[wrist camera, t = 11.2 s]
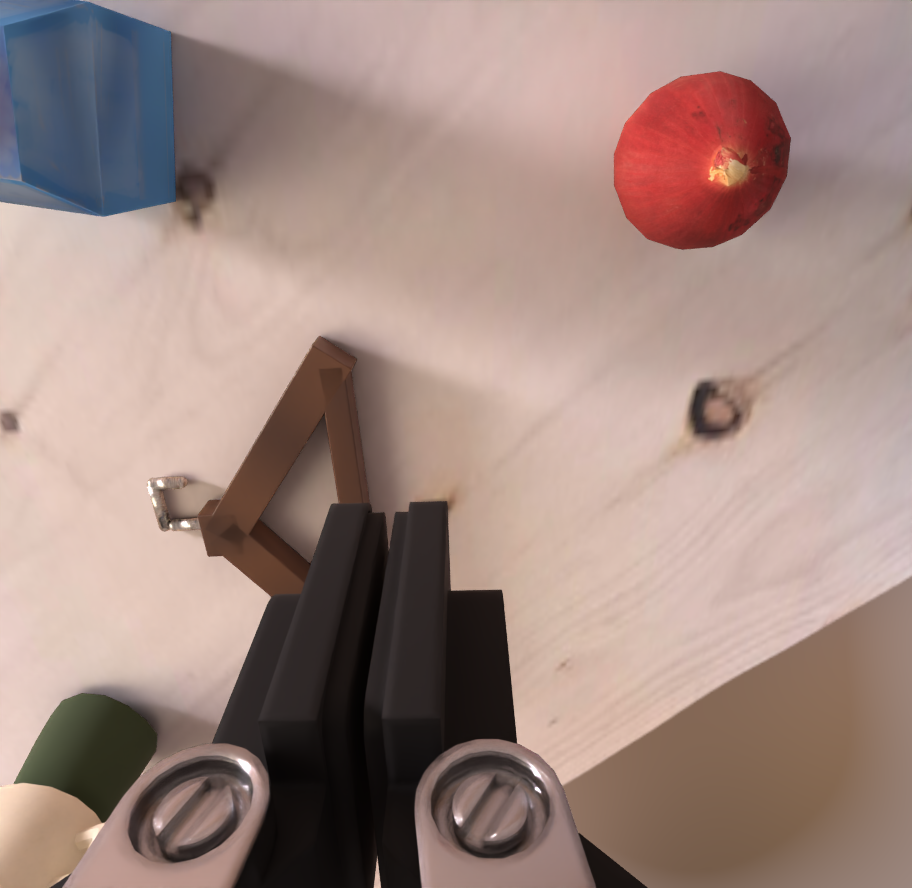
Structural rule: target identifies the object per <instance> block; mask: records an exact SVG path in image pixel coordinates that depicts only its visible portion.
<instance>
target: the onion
mask: <svg viewBox="0 0 912 888" xmlns="http://www.w3.org/2000/svg"><path fill="white" fill-rule="evenodd" d="M790 142H791V137H790V135H789V133H788V130H787V128H786V125H785V123H784V121H783V118H782V116H781V114H780V111H779V109H778V106H777V104H776V102H775V101H773V100H772V99H771V98H770V97H769V96H768V95H767V94H766V93H764V92H763V91H762V90H761V89H760V88H759V87H758V86H756V85H755V84H754V83H753V82H752V81H751V80H748V79H744V78H741V77H738V76H734V75H731V74H728V73H724V72H721V71H719V72H712V73H704V74H697V75H690V76H683V77H680V78H678V79H676V80H674V81H672V82H670V83H669V84H667V85H665V86H663V87H661V88H660V89H658V90H656V91H654V92H652V93H651V94H650V95H649V96H648V97H647V99H646V100H645V101H644V102H643V103H642V104H641V105H640V107H639V108H638V109H637V110H636V111H635V112H634V114H633V115H632V116H631V117H630V118H629V119H628V120H627V122H626V123H625V125H624V128H623V131H622V133H621V136H620V139H619V142H618V145H617V147H616V150H615V153H614V186H615V189H616V191H617V194H618V197H619V199H620V202H621V205H622V207H623V210H624V213H625V215H626V218H627V219H628V220H629V221H630V222H631V223H632V224H633V225H634V226H635V227H636V228H637V229H638V230H639V231H640V232H641V233H642V234H643V235H644V236H645V237H646V238H647V239H649V240H652V241H655V242H658V243H661V244H664V245H667V246H670V247H673V248H676V249H682V250H683V249H695V248H707V247H714V246H716V245H719V244H721V243H724V242H726V241H728V240H731V239H733V238H736V237H738V236H740V235H742V234H743V233H745V232H746V231H747V230H748V229H749V228H750V227H751V226H752V225H753V224H754V223H756V222H757V221H758V220H759V219H760V218H761V217H762V216H763V215H764V214H766V213H767V212H768V211H769V210H770V209H771V207H772V205H773V203H774V201H775V199H776V197H777V195H778V193H779V191H780V189H781V187H782V185H783V183H784V181H785V179H786V177H787V169H788V160H789V151H790Z"/></svg>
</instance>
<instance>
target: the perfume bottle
mask: <svg viewBox="0 0 912 888" xmlns="http://www.w3.org/2000/svg"><path fill="white" fill-rule="evenodd" d="M175 201H176V186H175V153H174V120H173V87H172V54H171V32H170V31H167V30H164V29H162V28H159V27H156V26H153V25H151V24H148V23H145V22H142V21H140V20H137V19H134V18H131V17H128V16H126V15H123V14H120V13H117V12H115V11H112V10H109V9H106V8H104V7H101V6H98V5H95V4H92V3H90V2H86V1H79V0H0V202H5V203H12V204H19V205H26V206H33V207H40V208H47V209H54V210H61V211H68V212H75V213H82V214H88V215H95V216H102V217H104V216H109V215H114V214H118V213H123V212H128V211H133V210H137V209H142V208H147V207H152V206H156V205H161V204H166V203H171V202H175Z"/></svg>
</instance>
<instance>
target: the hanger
mask: <svg viewBox="0 0 912 888" xmlns="http://www.w3.org/2000/svg"><path fill="white" fill-rule="evenodd" d="M356 361H357V359H356V358H355V357H353V356H351V355H350V354H348V353H347V352H345V351H343V350H342V349H340V348H339V347H337V346H335V345H334V344H332V343H330V342H329V341H327V340H326V339H324V338H322V337H321V336H319V337H318V338H317V339H316V341H315V342H314V343H313V344H312V346H311V348H310V349H309V351H308V353H307V354H306V356H305V358H304V359H303V361H302V363H301V365H300V366H299V368H298V370H297V371H296V373H295V375H294V376H293V378H292V380H291V382H290V383H289V385H288V387H287V388H286V390H285V392H284V393H283V395H282V397H281V398H280V400H279V402H278V404H277V405H276V407H275V409H274V410H273V412H272V414H271V415H270V417H269V419H268V421H267V422H266V424H265V426H264V427H263V429H262V431H261V432H260V434H259V436H258V438H257V439H256V441H255V443H254V444H253V446H252V448H251V449H250V451H249V453H248V455H247V456H246V458H245V460H244V461H243V463H242V465H241V466H240V468H239V470H238V472H237V473H236V475H235V477H234V478H233V480H232V482H231V483H230V485H229V487H228V489H227V490H226V492H225V494H224V495H223V497H222V499H221V500H209V501H208V502H207V503H206V505H205V506H204V507H203V509H202V510H201V512H200V513H199V514H198V518H188V519H173V520H170V517H169V513H168V510H167V506H166V503H165V499H164V495H163V492H162V490H164V489H182V488H185V487H186V486H187V483H188V482H187V479H186V478H185V477H162V478H151V479H149V480H148V482H147V487H148V491H149V494H150V497H151V501H152V504H153V508H154V511H155V515H156V518H157V522H158V525H159V528H160V530H162V531H168V530H172V531H184V530H201V532H202V536H203V539H204V543H205V547H206V551H207V555H208V556H209V557H210V556H224V557H225V558H226V559H227V560H228V561H229V562H231V563H232V564H233V565H234V566H235V567H237V568H238V569H239V570H240V571H241V572H243V573H244V574H245V575H246V576H247V577H249V578H250V579H251V580H252V581H253V582H254V583H256V584H257V585H258V586H259V587H260V588H262V589H263V590H264V591H265V592H266V593H268V594H269V595H270V596H271V597H272V596H274V595H275V594H301V592H302V589H303V586H304V583H305V580H306V577H307V574H308V571H309V568H310V564H309V563H308V562H307V561H306V560H305V559H303V558H302V557H301V556H300V555H299V554H298V553H297V552H295V551H294V550H293V549H292V548H291V547H290V546H289V545H288V544H286V543H285V542H284V541H283V540H282V539H281V538H280V537H278V536H277V535H276V534H275V533H274V532H273V531H272V530H270V529H269V528H268V527H267V526H266V525H265V524H264V523H262V522H261V521H260V520H259V518H260V516H261V515H262V513H263V511H264V510H265V508H266V507H267V505H268V503H269V502H270V500H271V499H272V497H273V495H274V494H275V492H276V491H277V489H278V487H279V486H280V484H281V483H282V481H283V479H284V478H285V476H286V475H287V473H288V471H289V470H290V468H291V467H292V465H293V463H294V462H295V460H296V459H297V457H298V455H299V454H300V452H301V450H302V449H303V447H304V446H305V444H306V442H307V441H308V439H309V438H310V436H311V434H312V433H313V431H314V430H315V428H316V426H317V425H318V423H319V422H320V420H321V418H322V417H323V415H324V414H325V420H326V426H327V433H328V439H329V445H330V451H331V457H332V464H333V470H334V476H335V482H336V489H337V495H338V501H339V504H344V503H370V502H369V495H368V487H367V480H366V473H365V466H364V458H363V451H362V444H361V437H360V430H359V422H358V415H357V408H356V401H355V394H354V386H353V379H352V372H351V370H352V368H353V367H354V365H355V363H356Z"/></svg>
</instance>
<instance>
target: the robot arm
mask: <svg viewBox="0 0 912 888" xmlns="http://www.w3.org/2000/svg"><path fill="white" fill-rule="evenodd" d="M377 856H378V864H379V873H380V882H381V888H647V887H646V886H645V885H643V884H642V883H641V882H640V881H639V880H637V879H636V878H635V877H633V876H632V875H631V874H630V873H629V872H627V871H626V870H624V868H622V867H621V866H620V865H619V864H617V863H616V862H615V861H613V860H612V859H611V858H610V857H609V856H607V855H606V854H605V853H603V852H602V851H601V850H600V849H598V848H597V847H596V846H595V845H593V844H592V843H591V842H590V841H588V840H587V839H586V838H584V837H583V836H582V835H581V834H580V833H578V831H577V828H576V825H575V822H574V819H573V816H572V813H571V810H570V807H569V804H568V801H567V798H566V795H565V792H564V789H563V787H562V785H561V783H560V781H559V779H558V777H557V775H556V773H555V771H554V770H553V769H552V768H551V767H550V766H549V765H548V764H547V763H546V762H545V761H544V760H543V759H542V758H541V757H540V756H539V755H538V754H536V753H534V752H532V751H531V750H529V749H527V748H525V747H524V746H522V745H520V744H517V737H516V727H515V716H514V706H513V695H512V685H511V674H510V664H509V654H508V643H507V633H506V622H505V612H504V601H503V593H502V590H467V591H451V585H450V558H449V530H448V506H447V501H437V502H410V505H409V512H396V513H395V517H394V523H393V529H392V535H391V541H390V547H389V550H388V538H387V526H386V517H385V513H384V512H381V513H372V508H371V504H370V503H344V504H331V506H330V509H329V512H328V515H327V518H326V521H325V524H324V527H323V530H322V533H321V536H320V539H319V541H318V544H317V547H316V550H315V553H314V556H313V559H312V562H311V565H310V568H309V571H308V574H307V577H306V580H305V583H304V586H303V589H302V592H301V594H275V595H274V596H272V597H271V599H270V601H269V602H268V604H267V607H266V609H265V612H264V614H263V617H262V619H261V622H260V624H259V627H258V629H257V632H256V634H255V637H254V639H253V642H252V644H251V647H250V649H249V652H248V654H247V657H246V659H245V662H244V664H243V667H242V669H241V672H240V674H239V677H238V679H237V682H236V684H235V687H234V689H233V692H232V694H231V697H230V699H229V702H228V704H227V707H226V709H225V712H224V714H223V717H222V719H221V722H220V724H219V727H218V729H217V732H216V734H215V737H214V739H213V742H212V744H203V745H199V746H195V747H191V748H188V749H184V750H181V751H179V752H177V753H175V754H173V755H171V756H169V757H167V758H165V759H163V760H161V761H159V762H158V763H157V764H155V765H154V766H153V767H152V768H150V769H149V770H148V771H146V772H145V773H144V774H143V775H141V776H140V777H139V778H138V779H137V780H136V782H135V783H134V784H133V785H132V786H131V787H130V789H129V790H128V791H127V792H126V793H125V795H124V796H123V797H122V799H121V800H120V802H119V803H118V805H117V806H116V808H115V809H114V811H113V812H112V814H111V815H110V817H109V818H108V820H107V821H106V823H105V824H104V826H103V827H102V829H101V830H100V832H99V833H98V835H97V836H96V838H95V839H94V841H93V842H92V844H91V845H90V847H89V848H88V850H87V851H86V853H85V854H84V856H83V857H82V859H81V860H80V862H79V863H78V865H77V866H76V868H75V869H74V871H73V872H72V873H71V874H69V875H68V876H66V877H65V878H63V879H62V880H60V881H59V882H57V883H56V884H54V885H53V886H51V887H50V888H374V880H375V871H376V862H377Z"/></svg>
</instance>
